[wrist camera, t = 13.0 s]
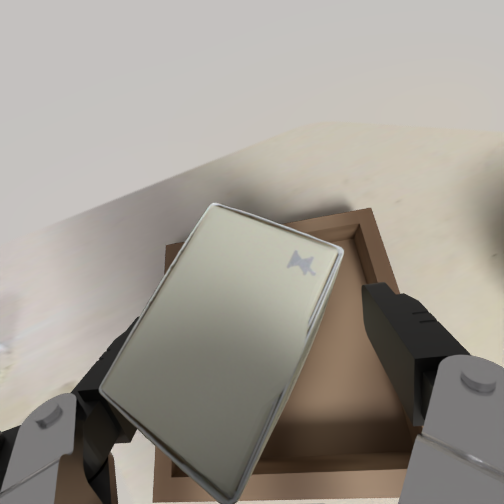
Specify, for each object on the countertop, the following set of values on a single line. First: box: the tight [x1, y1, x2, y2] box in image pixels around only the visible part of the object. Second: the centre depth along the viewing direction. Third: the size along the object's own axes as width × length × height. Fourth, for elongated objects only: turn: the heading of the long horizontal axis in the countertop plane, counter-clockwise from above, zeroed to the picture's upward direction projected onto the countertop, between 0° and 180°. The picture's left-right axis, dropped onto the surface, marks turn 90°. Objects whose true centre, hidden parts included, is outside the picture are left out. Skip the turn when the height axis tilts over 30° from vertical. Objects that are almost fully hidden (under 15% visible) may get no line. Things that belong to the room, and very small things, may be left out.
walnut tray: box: [153, 208, 424, 503], centre depth 17 cm, size 15×15×3 cm
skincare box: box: [99, 202, 344, 504], centre depth 12 cm, size 6×4×12 cm
